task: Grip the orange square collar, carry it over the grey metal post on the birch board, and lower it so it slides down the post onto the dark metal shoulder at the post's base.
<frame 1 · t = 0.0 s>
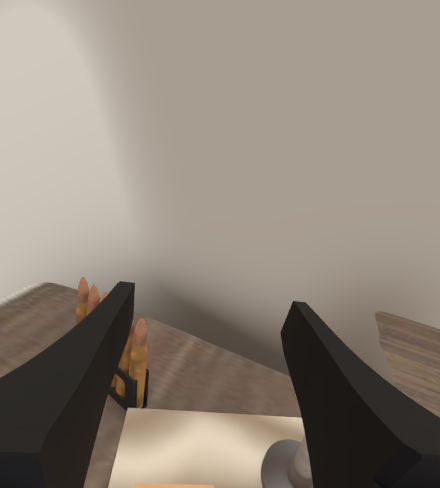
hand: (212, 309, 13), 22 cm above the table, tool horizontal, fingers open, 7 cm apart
ammunition clip: (108, 383, 33), on the table
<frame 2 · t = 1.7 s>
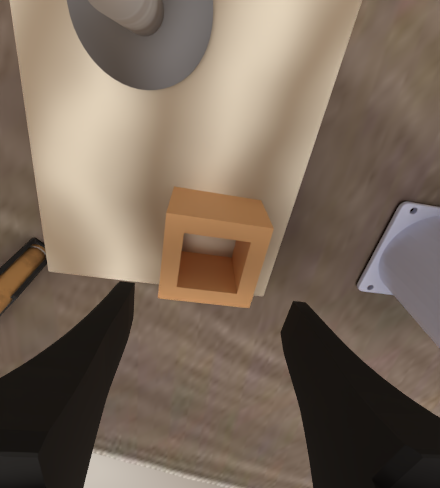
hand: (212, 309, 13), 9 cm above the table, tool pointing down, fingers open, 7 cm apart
collar: (211, 232, 19), point 1 cm above the table, touching post board
ammunition clip: (10, 282, 23), on the table
post board: (178, 127, 17), on the table
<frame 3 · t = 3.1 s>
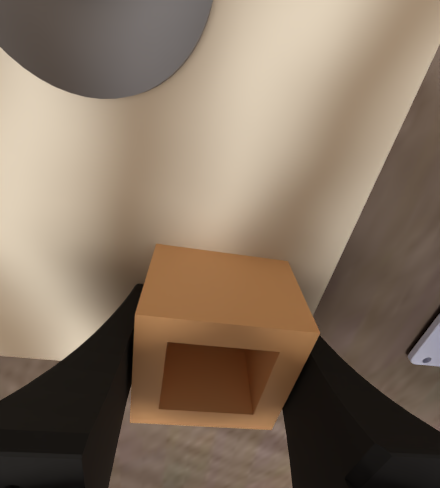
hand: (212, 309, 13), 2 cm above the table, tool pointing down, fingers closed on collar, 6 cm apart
collar: (212, 303, 13), point 1 cm above the table, touching gripper, post board
post board: (162, 154, 11), on the table
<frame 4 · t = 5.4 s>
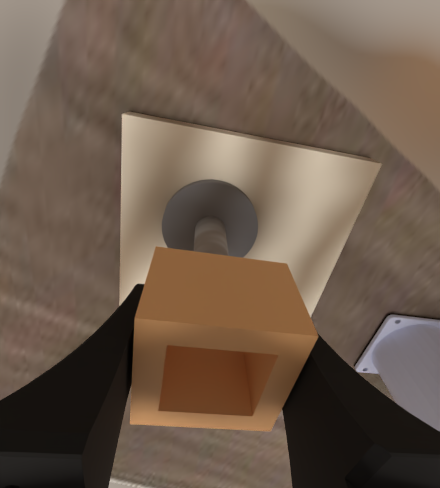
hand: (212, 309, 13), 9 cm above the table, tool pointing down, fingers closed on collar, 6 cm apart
collar: (212, 304, 13), point 9 cm above the table, touching gripper
post board: (223, 273, 24), on the table
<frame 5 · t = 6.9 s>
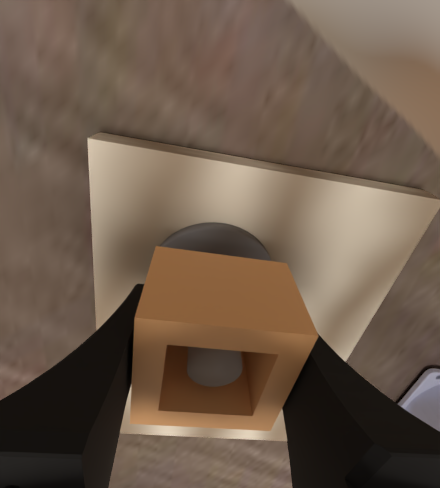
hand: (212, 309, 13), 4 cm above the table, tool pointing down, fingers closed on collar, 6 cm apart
collar: (212, 304, 13), point 3 cm above the table, touching gripper
post board: (228, 326, 19), on the table
when the fingers open (4 cm above the table, at t = 8.0 s): collar drops 1 cm, resting on post board.
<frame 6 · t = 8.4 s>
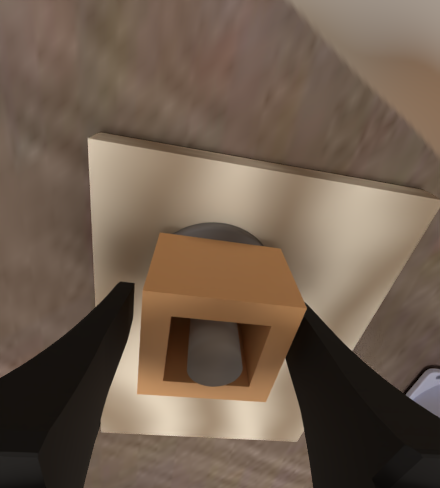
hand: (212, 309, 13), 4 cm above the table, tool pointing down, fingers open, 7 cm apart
collar: (211, 288, 14), point 2 cm above the table, touching post board
post board: (228, 326, 19), on the table
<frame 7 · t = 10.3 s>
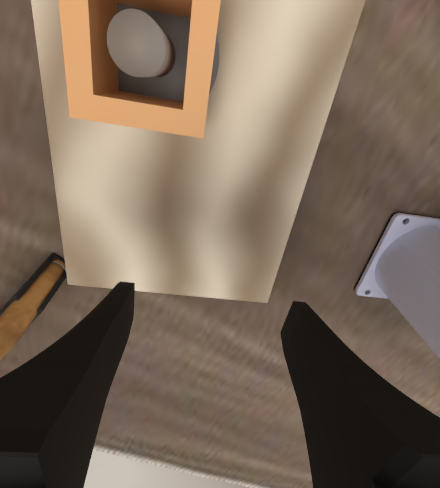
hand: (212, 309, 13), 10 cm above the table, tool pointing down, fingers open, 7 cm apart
collar: (155, 56, 14), point 2 cm above the table, touching post board
ammunition clip: (30, 294, 24), on the table
post board: (187, 151, 19), on the table
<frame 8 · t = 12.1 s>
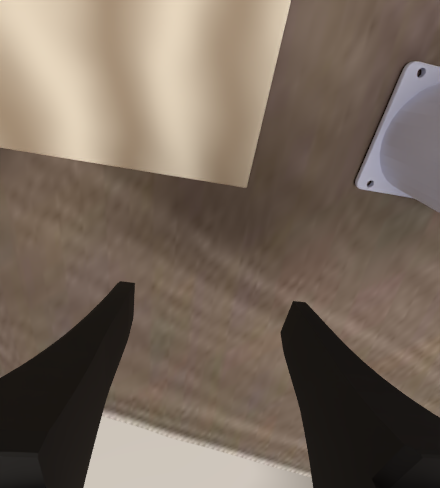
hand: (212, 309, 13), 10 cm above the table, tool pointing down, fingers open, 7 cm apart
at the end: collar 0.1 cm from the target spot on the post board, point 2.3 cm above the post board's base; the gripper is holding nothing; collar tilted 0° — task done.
